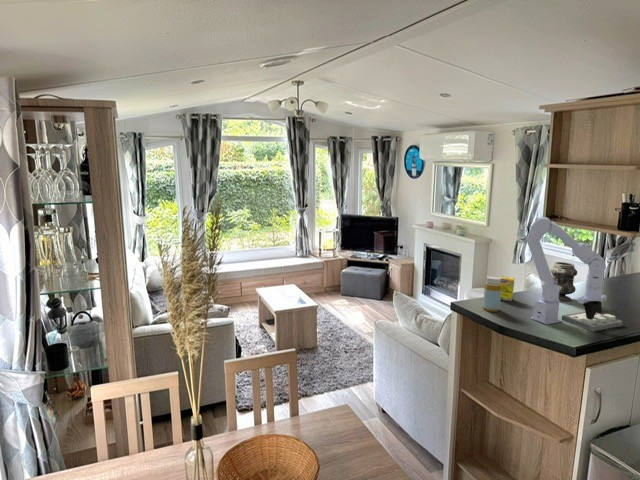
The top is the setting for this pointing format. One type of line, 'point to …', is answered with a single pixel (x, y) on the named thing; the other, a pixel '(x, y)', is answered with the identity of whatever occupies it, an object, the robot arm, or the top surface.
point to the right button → (609, 317)
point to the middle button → (599, 319)
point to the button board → (577, 321)
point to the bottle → (492, 294)
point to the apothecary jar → (564, 279)
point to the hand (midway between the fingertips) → (589, 318)
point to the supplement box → (507, 288)
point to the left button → (589, 321)
